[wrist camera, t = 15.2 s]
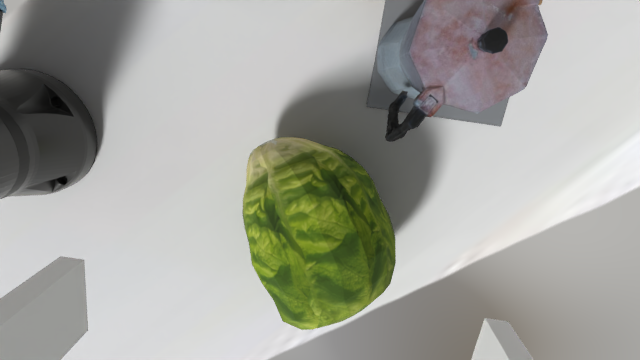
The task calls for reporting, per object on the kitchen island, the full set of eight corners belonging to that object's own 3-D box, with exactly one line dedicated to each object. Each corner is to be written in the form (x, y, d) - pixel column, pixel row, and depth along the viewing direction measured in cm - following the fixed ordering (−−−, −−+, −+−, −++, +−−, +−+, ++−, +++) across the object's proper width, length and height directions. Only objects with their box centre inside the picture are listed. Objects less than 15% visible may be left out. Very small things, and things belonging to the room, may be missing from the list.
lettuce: (351, 111, 47) (309, 95, 33) (428, 261, 46) (420, 314, 31) (252, 169, 52) (178, 177, 38) (318, 306, 51) (268, 368, 36)
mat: (366, 106, 44) (366, 106, 44) (387, -9, 41) (387, -9, 40) (499, 126, 44) (500, 126, 44) (532, 13, 41) (533, 13, 40)
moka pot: (493, 26, 41) (631, -7, 22) (406, 140, 45) (458, 196, 26) (424, -28, 40) (508, -113, 21) (341, 95, 44) (346, 119, 25)
